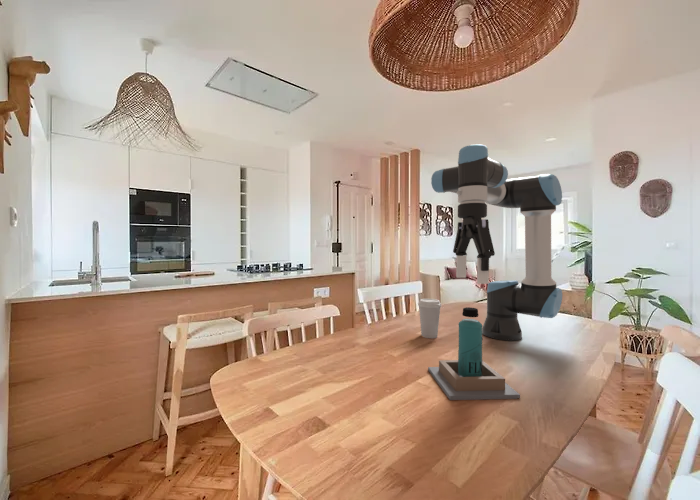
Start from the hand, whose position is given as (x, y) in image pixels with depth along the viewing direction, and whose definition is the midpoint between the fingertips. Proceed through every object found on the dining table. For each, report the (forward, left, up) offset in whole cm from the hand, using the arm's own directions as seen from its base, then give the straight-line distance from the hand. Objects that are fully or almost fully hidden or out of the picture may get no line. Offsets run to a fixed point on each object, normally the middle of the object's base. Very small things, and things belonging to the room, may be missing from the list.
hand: (471, 280), depth 87 cm
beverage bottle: (0, 0, -28) cm, 28 cm away
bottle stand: (0, 0, -29) cm, 29 cm away
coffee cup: (-2, -43, -29) cm, 52 cm away
